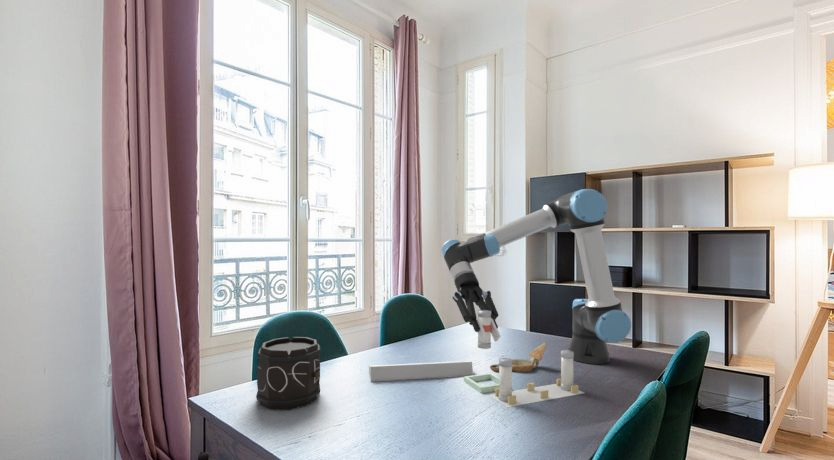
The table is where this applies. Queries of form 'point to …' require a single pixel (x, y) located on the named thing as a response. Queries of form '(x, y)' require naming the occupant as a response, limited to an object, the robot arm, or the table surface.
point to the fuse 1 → (505, 379)
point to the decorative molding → (420, 371)
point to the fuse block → (537, 394)
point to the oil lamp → (525, 361)
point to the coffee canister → (288, 373)
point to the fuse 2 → (567, 369)
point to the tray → (482, 389)
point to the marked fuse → (485, 328)
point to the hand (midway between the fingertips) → (491, 339)
